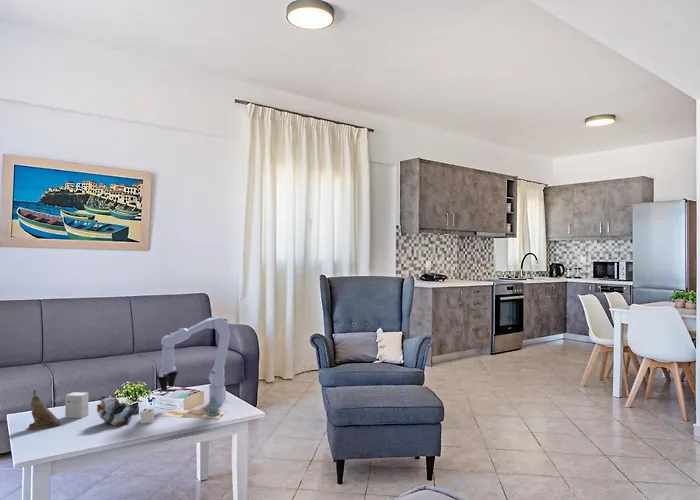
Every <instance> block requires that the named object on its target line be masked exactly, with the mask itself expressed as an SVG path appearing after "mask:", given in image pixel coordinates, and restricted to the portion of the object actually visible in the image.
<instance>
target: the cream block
mask: <svg viewBox="0 0 700 500" xmlns="http://www.w3.org/2000/svg"><path fill="white" fill-rule="evenodd" d="M154 419H155V408H143V409H141V411H140V424H149V423H150V424H151V423H153V422H154Z"/></svg>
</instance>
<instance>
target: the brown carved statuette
mask: <svg viewBox="0 0 700 500" xmlns="http://www.w3.org/2000/svg"><path fill="white" fill-rule="evenodd" d="M32 395H33V396H32V398H31V400H30V406H31V416H32V418H33V420H34V421H33V422H32V423H30V424H29V425H28V431H34V430H41V429H42V430H43V429H50V428H57V427H60V426H61V421H60V419H59V418H57V416H56V415H54V413H53V412H51V411H50V409H48V408H47V406H46V405H45V403H44V401H43V400H42V398H41V397H40V396H38V395H37V392H36V390H33V394H32Z"/></svg>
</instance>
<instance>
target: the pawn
mask: <svg viewBox="0 0 700 500" xmlns="http://www.w3.org/2000/svg"><path fill="white" fill-rule="evenodd" d="M208 403H209V405H208V410H209V411H208V412H207V415H208V416H217V415H219V414H220V411H221V410H220V411H218V410H219V406H218V401H217V397H216V396H212V397H211V398H210V401H208Z"/></svg>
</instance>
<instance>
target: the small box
mask: <svg viewBox="0 0 700 500" xmlns="http://www.w3.org/2000/svg"><path fill="white" fill-rule="evenodd" d="M64 398H65V401H64V403H65V406H64V407H65V411H64V412H65V417H64V418H66V419H83V418H85V417H87V416H89V392H78V391H77V392H74V391H73V392H71V393H70V392H69V393H68V394H65V397H64Z"/></svg>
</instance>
